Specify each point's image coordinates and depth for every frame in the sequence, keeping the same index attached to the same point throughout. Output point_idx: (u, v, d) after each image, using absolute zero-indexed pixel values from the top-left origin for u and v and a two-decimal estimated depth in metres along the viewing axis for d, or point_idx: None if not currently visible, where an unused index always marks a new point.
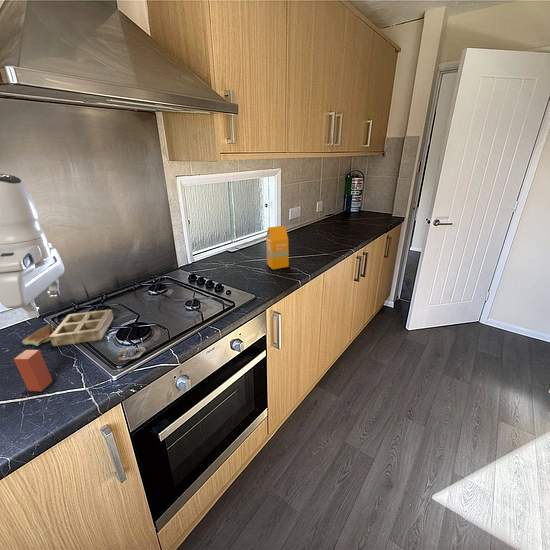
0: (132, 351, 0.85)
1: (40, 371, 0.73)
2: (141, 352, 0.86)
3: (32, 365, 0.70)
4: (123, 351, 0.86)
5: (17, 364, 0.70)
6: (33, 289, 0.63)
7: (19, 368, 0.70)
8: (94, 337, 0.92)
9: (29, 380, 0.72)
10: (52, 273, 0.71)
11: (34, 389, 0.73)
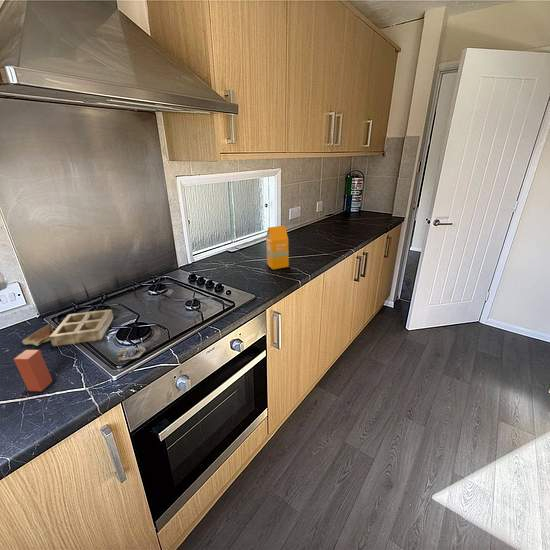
0: (132, 351, 0.85)
1: (40, 371, 0.73)
2: (141, 352, 0.86)
3: (32, 365, 0.70)
4: (123, 351, 0.86)
5: (17, 364, 0.70)
6: None
7: (19, 368, 0.70)
8: (94, 337, 0.92)
9: (29, 380, 0.72)
10: None
11: (34, 389, 0.73)
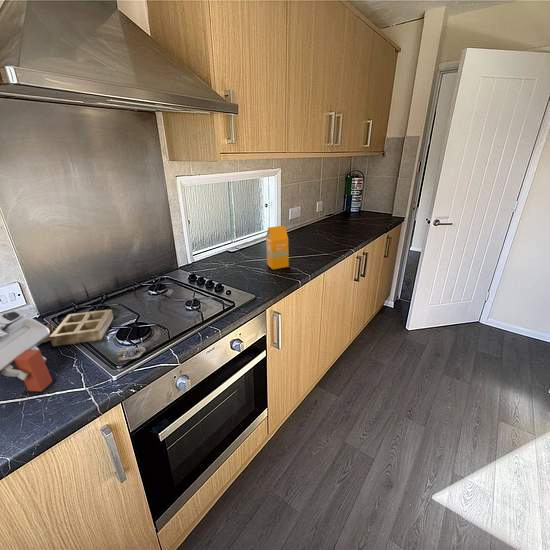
0: (132, 351, 0.85)
1: (40, 371, 0.73)
2: (141, 352, 0.86)
3: (32, 365, 0.70)
4: (123, 351, 0.86)
5: (17, 364, 0.70)
6: None
7: (19, 368, 0.70)
8: (94, 337, 0.92)
9: (29, 380, 0.72)
10: None
11: (34, 389, 0.73)
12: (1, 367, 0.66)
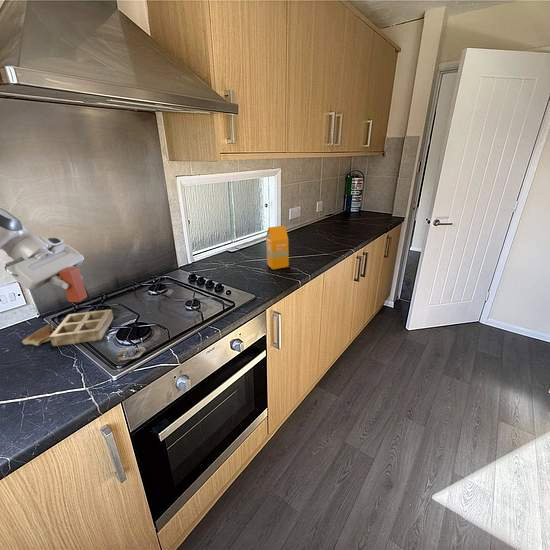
0: (132, 351, 0.85)
1: (78, 284, 0.88)
2: (141, 352, 0.86)
3: (72, 277, 0.86)
4: (123, 351, 0.86)
5: (61, 276, 0.85)
6: None
7: None
8: (94, 337, 0.92)
9: (69, 291, 0.87)
10: None
11: (73, 300, 0.88)
12: (49, 275, 0.82)
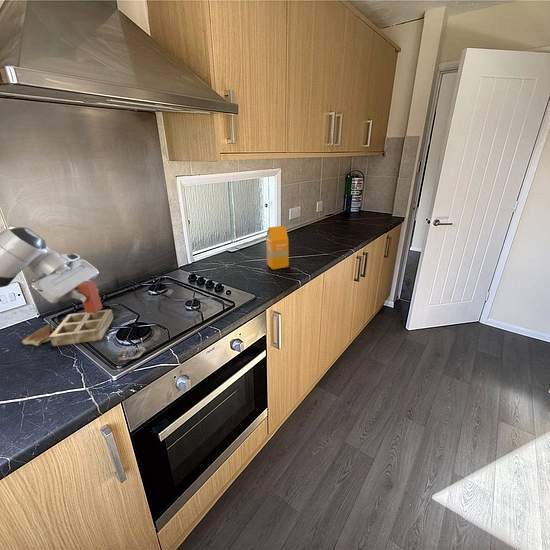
0: (132, 351, 0.85)
1: (95, 297, 0.96)
2: (141, 352, 0.86)
3: (90, 291, 0.94)
4: (123, 351, 0.86)
5: (79, 290, 0.94)
6: None
7: (80, 293, 0.94)
8: (94, 337, 0.92)
9: (87, 303, 0.95)
10: None
11: (90, 311, 0.97)
12: (70, 289, 0.90)
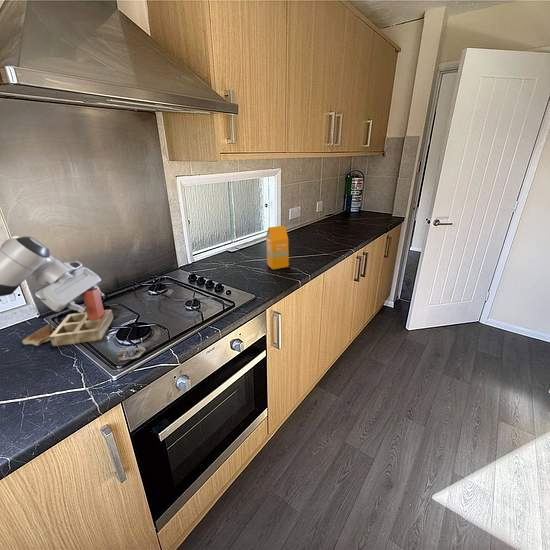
0: (132, 351, 0.85)
1: (98, 304, 0.99)
2: (141, 352, 0.86)
3: (94, 296, 0.98)
4: (123, 351, 0.86)
5: (84, 297, 0.97)
6: None
7: (85, 300, 0.97)
8: (94, 337, 0.92)
9: (90, 310, 0.98)
10: None
11: (93, 318, 0.98)
12: (72, 297, 0.92)
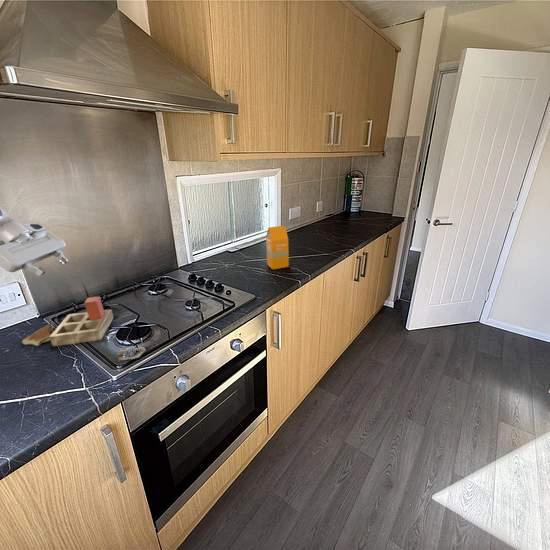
0: (132, 351, 0.85)
1: (101, 311, 0.99)
2: (141, 352, 0.86)
3: (98, 306, 0.97)
4: (123, 351, 0.86)
5: (86, 306, 0.96)
6: None
7: (88, 309, 0.96)
8: (94, 337, 0.92)
9: (94, 318, 0.98)
10: None
11: None
12: (29, 259, 0.86)
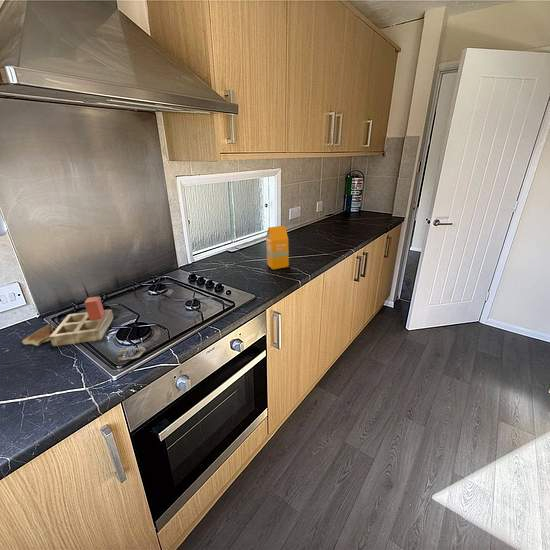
0: (132, 351, 0.85)
1: (101, 311, 0.99)
2: (141, 352, 0.86)
3: (98, 306, 0.97)
4: (123, 351, 0.86)
5: (86, 306, 0.96)
6: None
7: (88, 309, 0.96)
8: (94, 337, 0.92)
9: (94, 318, 0.98)
10: None
11: None
12: None
